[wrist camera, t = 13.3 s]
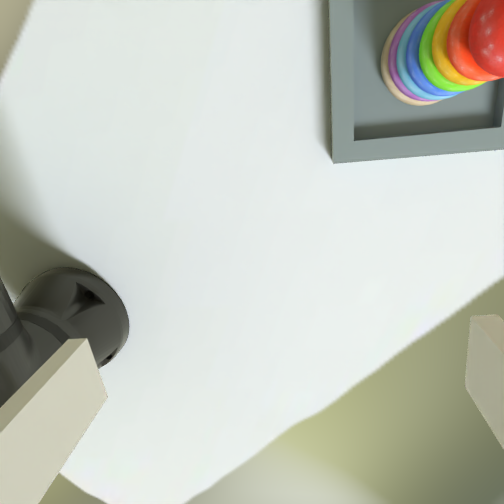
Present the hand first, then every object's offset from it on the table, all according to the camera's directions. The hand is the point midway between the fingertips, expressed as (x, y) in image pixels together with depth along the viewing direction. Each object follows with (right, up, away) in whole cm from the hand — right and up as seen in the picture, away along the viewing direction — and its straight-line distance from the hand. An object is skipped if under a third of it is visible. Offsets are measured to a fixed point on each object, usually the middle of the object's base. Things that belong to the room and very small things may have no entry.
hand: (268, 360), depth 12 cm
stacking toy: (+15, +22, +21) cm, 34 cm away
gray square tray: (+15, +22, +21) cm, 34 cm away
